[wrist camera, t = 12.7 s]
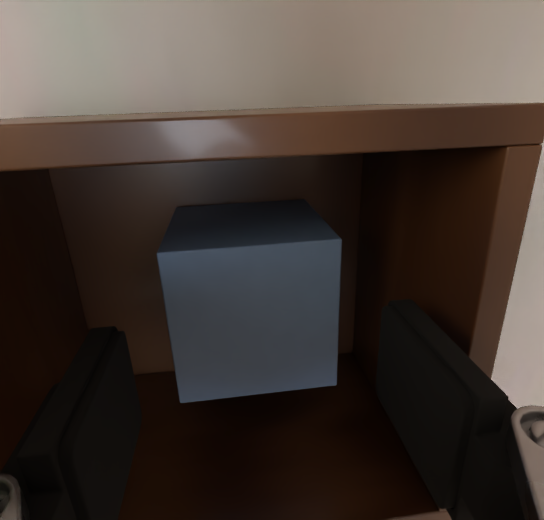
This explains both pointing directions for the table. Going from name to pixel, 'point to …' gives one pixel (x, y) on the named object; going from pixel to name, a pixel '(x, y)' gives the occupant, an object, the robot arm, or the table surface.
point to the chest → (353, 284)
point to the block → (251, 298)
